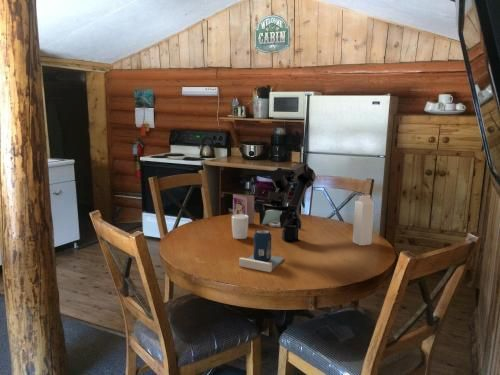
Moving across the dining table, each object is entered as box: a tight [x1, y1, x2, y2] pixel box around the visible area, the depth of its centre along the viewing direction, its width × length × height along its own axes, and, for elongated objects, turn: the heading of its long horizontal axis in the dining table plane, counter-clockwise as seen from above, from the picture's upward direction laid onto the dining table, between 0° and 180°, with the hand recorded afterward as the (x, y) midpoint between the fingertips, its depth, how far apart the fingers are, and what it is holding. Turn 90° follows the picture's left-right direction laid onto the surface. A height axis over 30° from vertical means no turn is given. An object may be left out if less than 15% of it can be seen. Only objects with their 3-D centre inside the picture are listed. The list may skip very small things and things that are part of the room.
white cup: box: [231, 214, 249, 240], centre depth 194 cm, size 8×8×10 cm
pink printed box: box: [232, 193, 255, 225], centre depth 216 cm, size 11×7×15 cm, turn 40°
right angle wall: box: [260, 209, 282, 229], centre depth 212 cm, size 12×12×8 cm
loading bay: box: [238, 253, 285, 273], centre depth 163 cm, size 15×13×3 cm
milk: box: [352, 194, 375, 246], centre depth 186 cm, size 6×6×22 cm
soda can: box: [253, 228, 272, 262], centre depth 163 cm, size 7×7×12 cm
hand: (270, 226), depth 169 cm, fingers open, 9 cm apart
